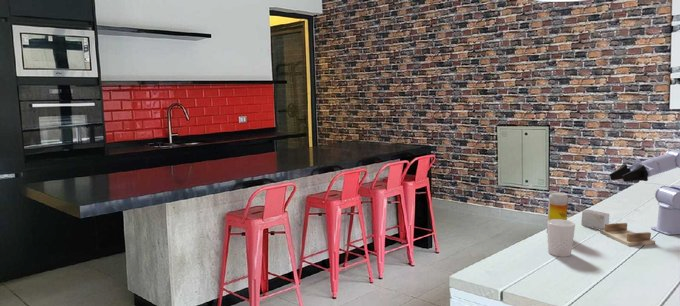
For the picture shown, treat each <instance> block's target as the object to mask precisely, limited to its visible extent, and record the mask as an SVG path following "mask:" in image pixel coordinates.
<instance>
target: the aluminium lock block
mask: <svg viewBox="0 0 680 306" xmlns="http://www.w3.org/2000/svg"><path fill="white" fill-rule="evenodd" d="M609 221H610V213H606V212H601V211H597V210H592V209H585V210H582V211H581V223H580V225H583V226H582V227H586V226H588V227H587V228H590V227H593V228H592V229H595V228H598V229H597V230H599V229H601V230H605V224H610V222H609Z"/></svg>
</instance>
